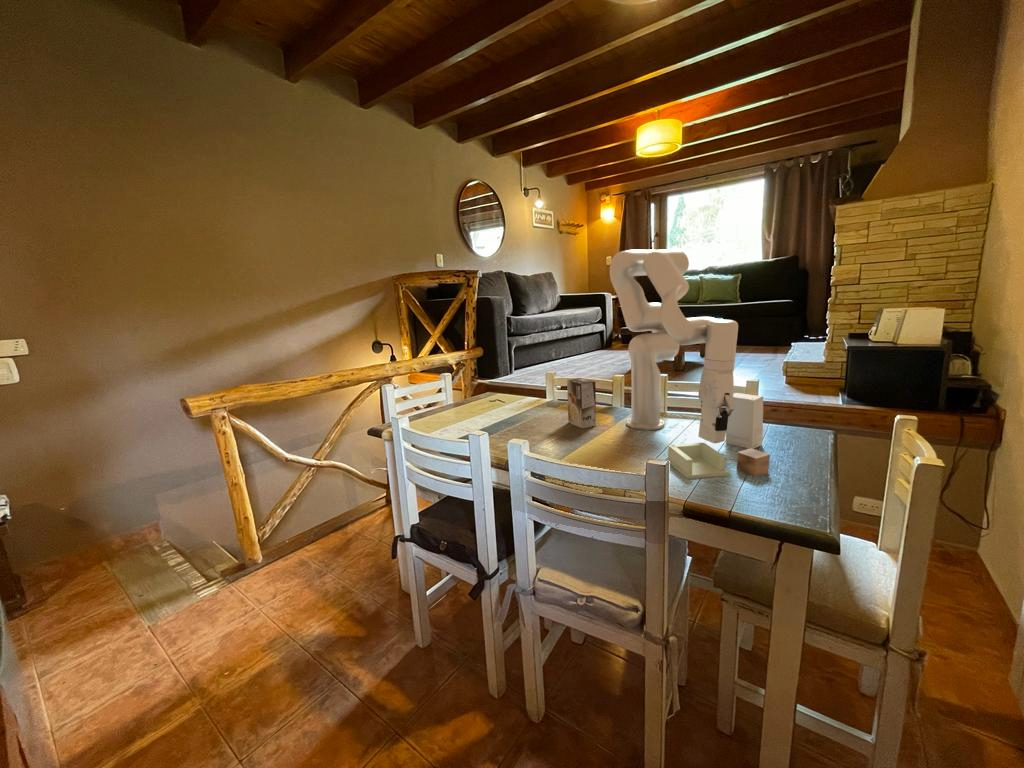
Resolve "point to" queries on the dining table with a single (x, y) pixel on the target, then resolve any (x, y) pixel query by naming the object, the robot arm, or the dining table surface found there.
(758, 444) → the skincare box
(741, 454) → the walnut block
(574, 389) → the coffee box
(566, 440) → the dining table surface
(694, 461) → the u rest
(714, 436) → the skincare box
